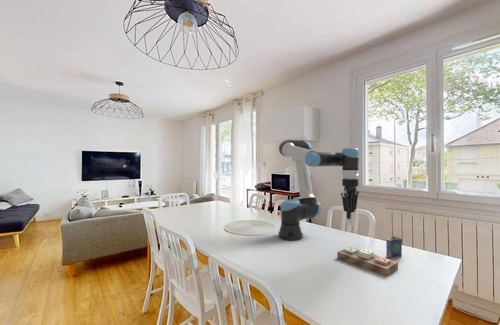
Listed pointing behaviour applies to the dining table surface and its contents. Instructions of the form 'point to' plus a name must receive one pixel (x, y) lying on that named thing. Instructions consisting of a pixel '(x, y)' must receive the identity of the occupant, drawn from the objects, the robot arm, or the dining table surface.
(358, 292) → the dining table surface
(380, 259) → the three-pip tile
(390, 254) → the flask
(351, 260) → the board
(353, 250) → the tile
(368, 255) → the tile
